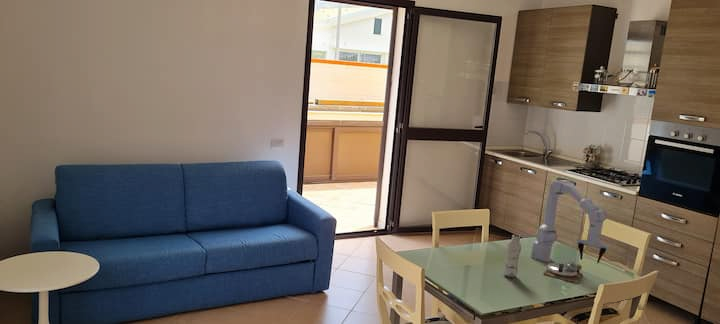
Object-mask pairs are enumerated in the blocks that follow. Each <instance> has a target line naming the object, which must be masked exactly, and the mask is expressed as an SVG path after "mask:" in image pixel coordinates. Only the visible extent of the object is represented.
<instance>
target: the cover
mask: <svg viewBox="0 0 720 324" xmlns="http://www.w3.org/2000/svg"><path fill="white" fill-rule="evenodd" d="M565 265H566V268H565V270H566V271H569V272H576V270H577V264H576V263H575V262H573V261H569V262H566V264H565Z"/></svg>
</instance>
